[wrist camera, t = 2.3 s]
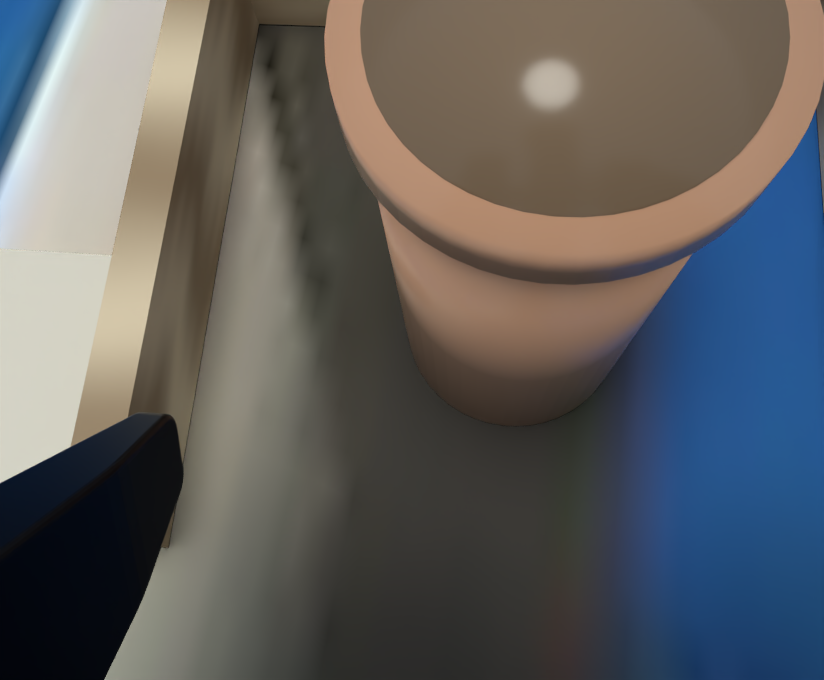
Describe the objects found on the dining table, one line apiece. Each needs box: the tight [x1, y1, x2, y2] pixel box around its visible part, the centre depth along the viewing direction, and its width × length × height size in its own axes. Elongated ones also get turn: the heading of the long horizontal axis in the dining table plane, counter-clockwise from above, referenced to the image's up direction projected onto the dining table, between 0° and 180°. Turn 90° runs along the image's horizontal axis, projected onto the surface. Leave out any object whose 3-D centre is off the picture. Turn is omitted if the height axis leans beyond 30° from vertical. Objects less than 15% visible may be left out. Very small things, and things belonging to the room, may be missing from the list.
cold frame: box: [71, 0, 824, 548], centre depth 20 cm, size 18×20×7 cm
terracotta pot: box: [324, 0, 824, 426], centre depth 16 cm, size 7×7×13 cm
